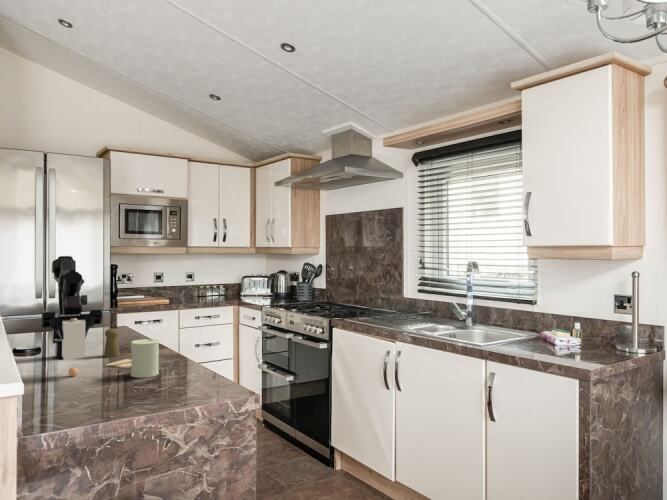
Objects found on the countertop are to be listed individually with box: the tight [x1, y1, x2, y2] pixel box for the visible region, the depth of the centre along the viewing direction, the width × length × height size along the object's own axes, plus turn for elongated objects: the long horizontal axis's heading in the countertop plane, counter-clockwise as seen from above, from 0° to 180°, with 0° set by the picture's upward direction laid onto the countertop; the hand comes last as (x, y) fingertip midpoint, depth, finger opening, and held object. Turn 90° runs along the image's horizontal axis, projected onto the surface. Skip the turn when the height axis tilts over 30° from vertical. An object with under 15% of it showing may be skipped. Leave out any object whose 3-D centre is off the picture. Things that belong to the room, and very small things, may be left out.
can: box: [130, 338, 160, 379], centre depth 178 cm, size 9×9×12 cm
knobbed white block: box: [62, 318, 86, 360], centre depth 174 cm, size 6×6×13 cm
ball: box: [68, 366, 79, 377], centre depth 174 cm, size 3×3×3 cm
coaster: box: [105, 358, 131, 369], centre depth 192 cm, size 10×10×1 cm
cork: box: [103, 328, 121, 359], centre depth 206 cm, size 6×6×11 cm
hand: (74, 337), depth 173 cm, fingers closed on knobbed white block, 6 cm apart
